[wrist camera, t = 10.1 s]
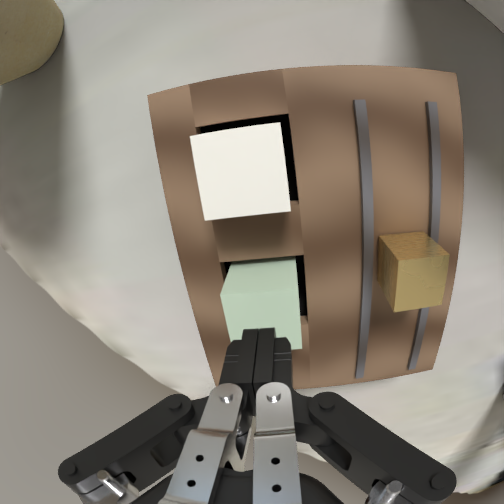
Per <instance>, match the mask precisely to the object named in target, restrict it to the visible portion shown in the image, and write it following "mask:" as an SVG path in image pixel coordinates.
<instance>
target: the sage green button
mask: <svg viewBox="0 0 504 504" xmlns="http://www.w3.org/2000/svg"><path fill="white" fill-rule="evenodd" d="M220 297H221V301H222V306H223V310H224V315H225V319H226V324H227V328H228V332H229V337H230V341H231V342H232V341H233V340H241V339H242V333H243V329H255V328H259V329H260V328H271V327H275V330H276V338H279V337H287V339H288V340H289V342H290V343H291V350H293V349H302V337H301V322H300V307H299V294H298V281H297V269H296V258H295V256H284V257H273V258H262V259H251V260H240V261H232V263H231V265H230V268H229V271H228V274H227V277H226V279H225V282H224V285H223V288H222V291H221V294H220Z"/></svg>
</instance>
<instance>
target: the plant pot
mask: <svg viewBox="0 0 504 504" xmlns="http://www.w3.org/2000/svg"><path fill="white" fill-rule="evenodd" d="M63 26H64V19H63V14H62V12H61V10H60V9H59V7H58V6H57V4H56V3H55V1H54V0H0V85H3V84H5V83H7V82H10V81H12V80H15V79H17V78H19V77H22V76H24V75H26V74H29V73H31V72H33V71H35V70H37V69H39V68H40V67H41V66H42V65H43V64H45V62H46V61H47V60H48V59H49V58H50V56H51V55H52V54H53V52H54V50H55V49H56V47H57V45H58V43H59V41H60V38H61V35H62V31H63Z"/></svg>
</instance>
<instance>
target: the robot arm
mask: <svg viewBox="0 0 504 504" xmlns="http://www.w3.org/2000/svg"><path fill="white" fill-rule="evenodd" d="M503 390H504V389H503ZM503 399H504V395H503ZM252 416H256V434H254V459H253V460H254V462H253V470H249V471H245V468H244V466H245V460H246V455H247V450H248V446H249V441H250V437H251V432H252V427H251V424H252ZM296 441H298V442H303V443H307V444H310V446H311V447H312V449H314V450H315V451H316V452H317V453H318V454H319V455H320V456H321V457H323V458H324V459H325V460H326V461H327V462H328V463H330V464H331V465H332V466H333V467H334V468H335V469H337V470H338V471H339V472H340V473H342V474H343V475H344V476H345V477H346V478H347V479H349V480H350V481H351V482H352V483H354V484H355V485H356V486H357V487H359V488H360V489H361V490H363V491H364V492H365V493H366V494H368V497H367V498H366V501H365V504H441V503H442V502H443V501H444V500H445V499H446V498H447V497H448V496H450V495H451V494H452V492H453V491H454V489H455V487H456V476H455V474H454V472H453V471H452V470H451V469H449V468H448V467H446V466H444V465H443V464H441V463H439V462H438V461H436V460H435V459H433V458H431V457H430V456H428V455H427V454H425V453H423V452H422V451H420V450H419V449H417V448H416V447H414V446H413V445H411V444H409V443H408V442H406V441H405V440H403V439H402V438H400V437H399V436H397V435H396V434H394V433H393V432H391V431H390V430H388V429H387V428H385V427H384V426H382V425H381V424H380V423H378V422H377V421H375V420H374V419H372V418H371V417H369V416H368V415H367V414H365V413H364V412H362V411H361V410H359V409H358V408H357V407H355V406H354V405H352V404H351V403H350V402H348V401H347V400H346V399H344V398H343V397H341V396H340V395H338V394H336V393H334V392H322V393H319V394H317V395H315V396H314V397H307V396H303V395H300V394H299V393H297V392H296V391H295V390H294V389H293V366H292V353H291V343H290V342H289V340H288V339H287V337H279V338H276V330H275V327H271V328H260V329H259V328H255V329H243V333H242V339H241V340H233V341H232V342H231V343H230V344H229V346H228V347H227V350H226V356H225V359H224V363H223V368H222V372H221V376H220V380H219V385H218V386H216V387H215V388H214V389H213V390H212V391H211V393H210V395H209V396H207V397H205V398H201V399H196V400H192V401H191V400H190V399H189V398H188V397H187V396H185V395H183V394H174V395H170V396H168V397H166V398H165V399H163V400H162V401H160V402H159V403H157V404H156V405H154V406H153V407H151V408H150V409H148V410H147V411H145V412H144V413H142V414H140V415H139V416H137V417H136V418H134V419H133V420H131V421H129V422H128V423H126V424H125V425H123V426H122V427H120V428H118V429H117V430H115V431H114V432H112V433H110V434H109V435H107V436H105V437H104V438H102V439H100V440H99V441H97V442H95V443H94V444H92V445H90V446H88V447H87V448H85V449H83V450H82V451H80V452H78V453H76V454H75V455H73V456H71V457H69V458H68V459H66V460H64V461H63V462H62V463H61V464H60V466H59V469H58V475H59V478H60V480H61V481H62V482H64V483H65V484H66V485H67V486H68V487H70V488H71V489H72V490H73V491H74V492H75V493H76V494H77V495H78V496H79V497H80V499H81V501H82V502H83V504H344V503H343V502H341V500H339V499H338V498H337V497H336V496H335V495H334V494H333V493H332V492H331V491H330V490H329V489H328V488H327V487H326V486H325V485H324V484H322V483H321V482H319V481H318V480H317V479H315V478H313V477H311V476H308V475H306V474H302V473H299V467H298V456H297V445H296ZM174 468H175V471H174V473H173V474H172V475H170V476H168V477H166V478H165V479H163V480H162V481H161V482H159V483H158V484H157V485H155V486H154V487H152V488H151V489H150V490H148V491H147V492H145V493H144V494H143V495H141V496H139V492H140V491H142V490H143V489H145V488H146V487H148V486H149V485H151V484H152V483H154V482H155V481H157V480H158V479H160V478H161V477H163V476H164V475H166V474H167V473H169V472H170V471H171V470H173V469H174Z"/></svg>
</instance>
